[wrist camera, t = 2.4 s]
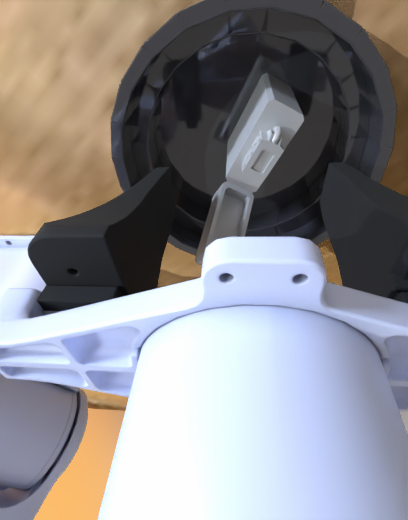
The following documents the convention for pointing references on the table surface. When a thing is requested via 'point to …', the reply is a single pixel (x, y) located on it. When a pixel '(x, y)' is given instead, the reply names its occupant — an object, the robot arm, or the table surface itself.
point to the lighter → (251, 157)
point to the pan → (236, 98)
